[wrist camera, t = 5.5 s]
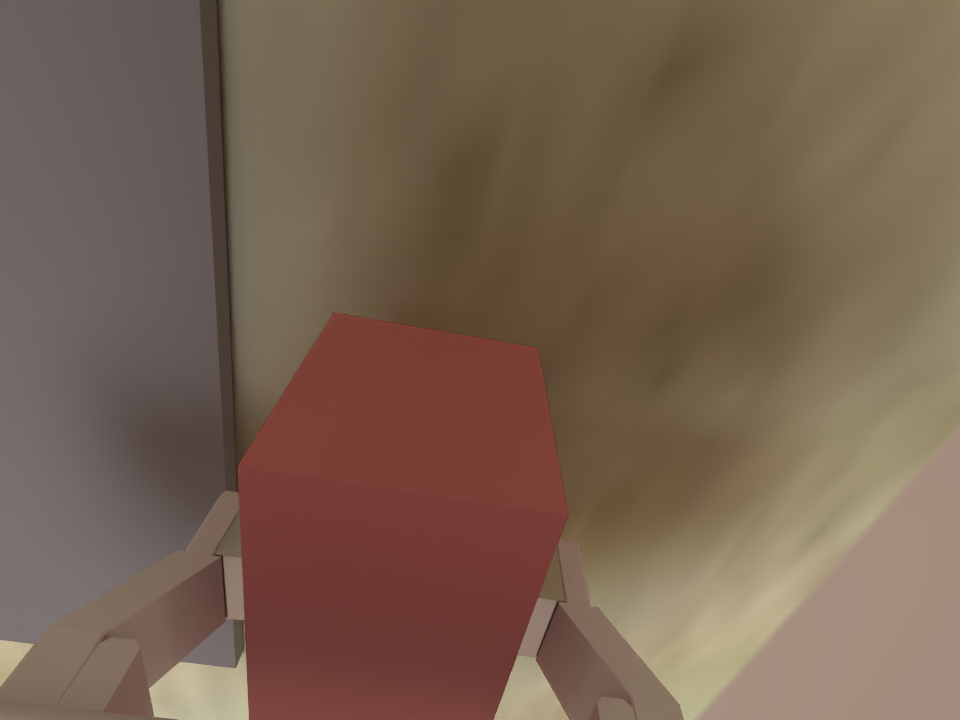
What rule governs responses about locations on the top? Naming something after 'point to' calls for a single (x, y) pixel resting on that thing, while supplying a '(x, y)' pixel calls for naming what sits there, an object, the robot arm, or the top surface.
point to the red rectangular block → (397, 526)
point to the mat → (110, 302)
